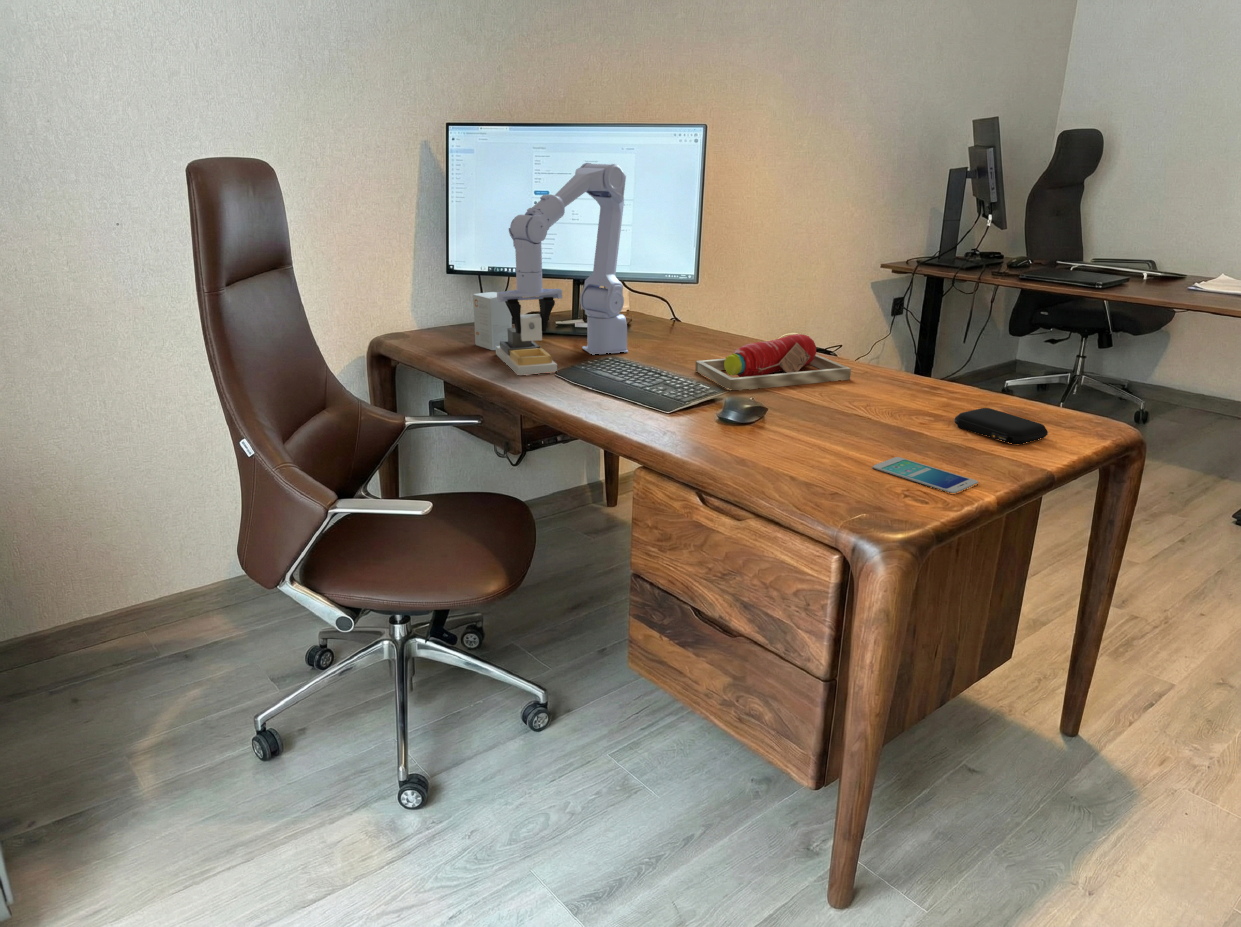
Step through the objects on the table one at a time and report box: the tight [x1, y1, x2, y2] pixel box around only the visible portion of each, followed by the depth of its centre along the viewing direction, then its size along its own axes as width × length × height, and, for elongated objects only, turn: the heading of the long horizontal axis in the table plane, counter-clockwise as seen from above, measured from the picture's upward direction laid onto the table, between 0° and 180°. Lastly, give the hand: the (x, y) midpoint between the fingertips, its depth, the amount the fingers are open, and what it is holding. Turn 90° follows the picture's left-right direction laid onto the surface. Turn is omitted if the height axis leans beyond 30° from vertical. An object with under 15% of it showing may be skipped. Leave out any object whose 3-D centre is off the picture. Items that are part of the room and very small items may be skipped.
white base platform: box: [495, 341, 558, 375], centre depth 213 cm, size 9×22×4 cm, turn 20°
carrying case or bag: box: [954, 407, 1049, 445], centre depth 165 cm, size 11×3×15 cm
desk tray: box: [694, 353, 852, 391], centre depth 203 cm, size 29×17×2 cm, turn 110°
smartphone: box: [872, 456, 979, 493], centre depth 145 cm, size 8×1×15 cm
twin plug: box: [507, 327, 532, 348], centre depth 215 cm, size 4×7×5 cm
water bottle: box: [724, 333, 817, 377], centre depth 203 cm, size 12×8×25 cm
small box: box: [472, 291, 513, 351], centre depth 228 cm, size 8×6×13 cm
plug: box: [520, 313, 543, 342], centre depth 205 cm, size 4×7×5 cm
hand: (530, 331), depth 206 cm, fingers closed on plug, 5 cm apart
